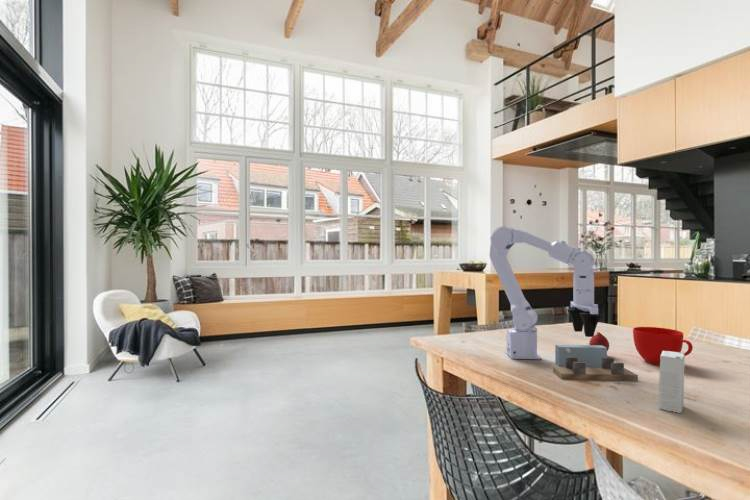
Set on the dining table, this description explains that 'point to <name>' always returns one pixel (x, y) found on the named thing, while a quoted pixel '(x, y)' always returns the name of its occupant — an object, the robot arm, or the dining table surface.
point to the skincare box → (671, 381)
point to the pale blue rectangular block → (581, 354)
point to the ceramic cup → (658, 342)
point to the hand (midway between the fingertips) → (583, 333)
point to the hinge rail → (594, 371)
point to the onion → (599, 340)
